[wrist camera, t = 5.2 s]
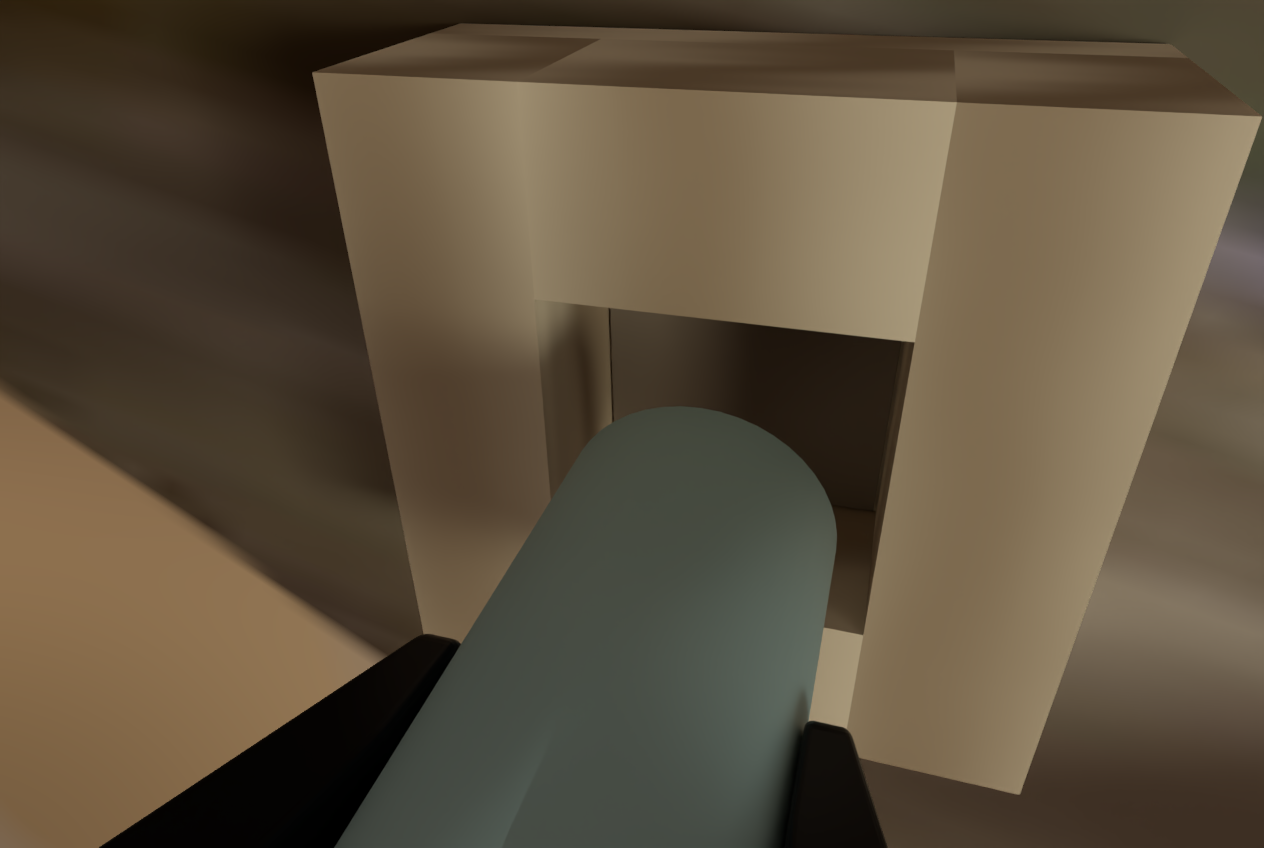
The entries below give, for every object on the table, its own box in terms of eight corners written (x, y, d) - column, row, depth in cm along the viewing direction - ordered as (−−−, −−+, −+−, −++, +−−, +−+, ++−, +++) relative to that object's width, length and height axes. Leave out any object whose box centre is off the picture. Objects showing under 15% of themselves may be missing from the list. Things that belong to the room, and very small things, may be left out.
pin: (853, 429, 10) (587, 2041, 3) (821, 650, 12) (616, 1946, 4) (560, 387, 11) (-260, 1496, 3) (574, 599, 13) (64, 1607, 5)
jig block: (1170, 43, 11) (1261, 117, 8) (1004, 613, 17) (1019, 795, 13) (460, 23, 14) (312, 72, 10) (515, 524, 19) (428, 658, 16)
